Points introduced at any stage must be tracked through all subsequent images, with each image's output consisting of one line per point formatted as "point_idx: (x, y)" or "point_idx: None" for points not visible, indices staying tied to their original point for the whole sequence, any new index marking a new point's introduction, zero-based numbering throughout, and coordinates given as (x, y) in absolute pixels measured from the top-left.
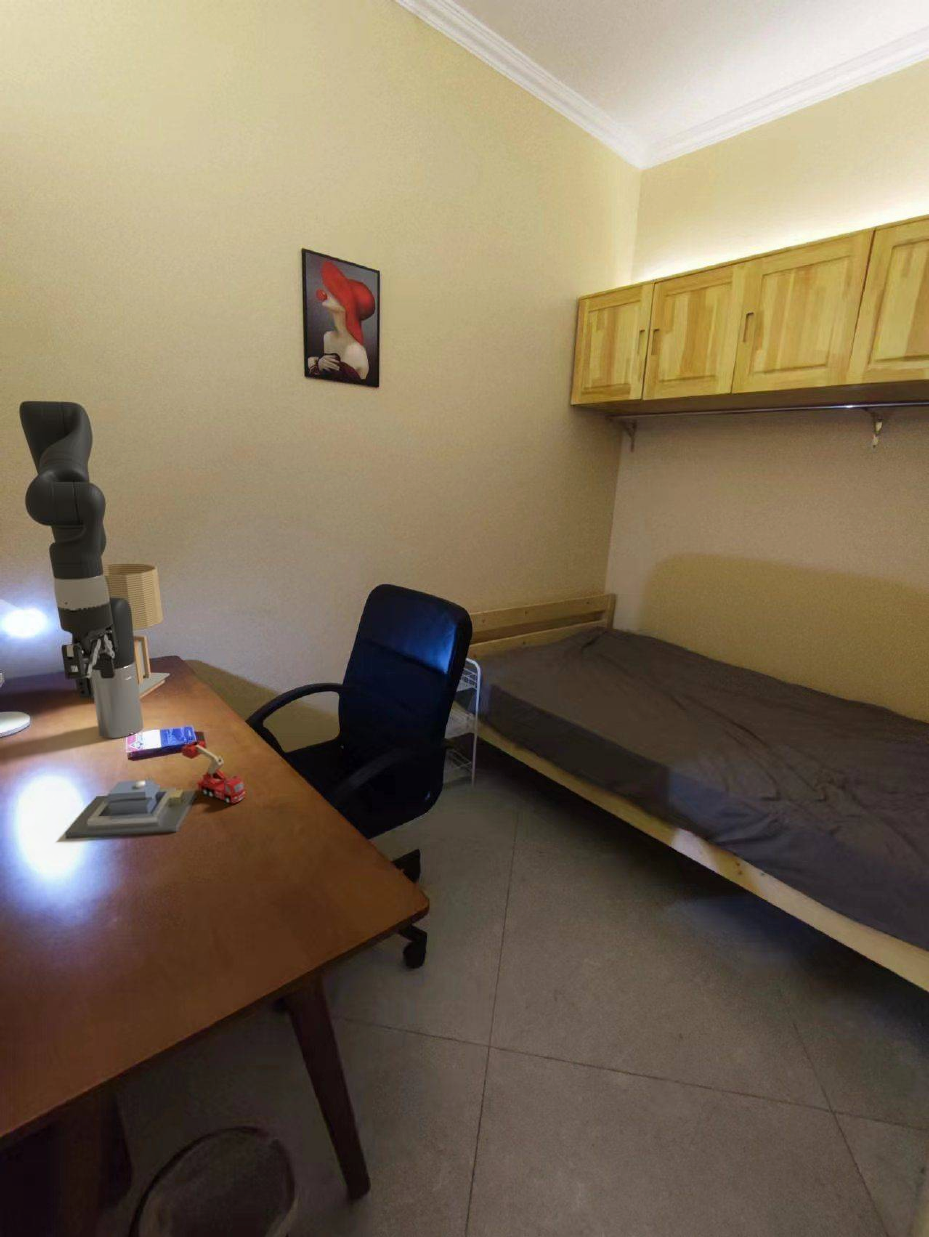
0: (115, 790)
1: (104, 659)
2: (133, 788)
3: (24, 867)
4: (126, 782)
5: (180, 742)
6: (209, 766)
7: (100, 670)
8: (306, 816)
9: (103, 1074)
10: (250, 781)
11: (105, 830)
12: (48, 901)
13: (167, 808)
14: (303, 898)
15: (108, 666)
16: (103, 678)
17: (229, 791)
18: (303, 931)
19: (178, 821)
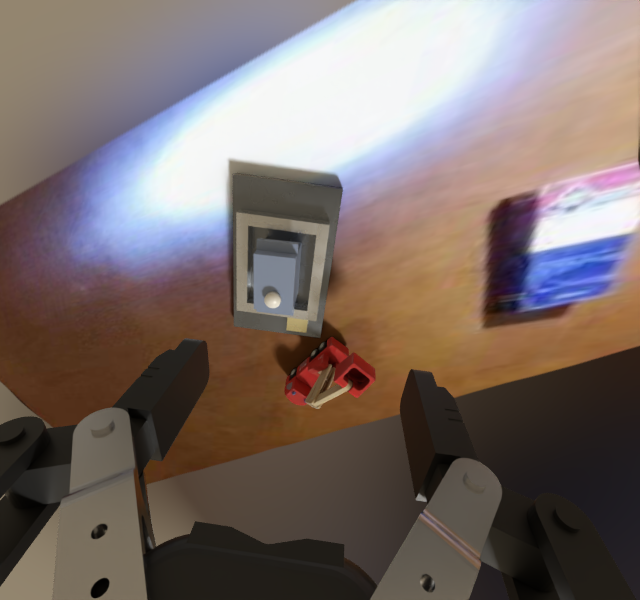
0: (264, 262)
1: (432, 478)
2: (266, 289)
3: (167, 134)
4: (290, 273)
5: (533, 284)
6: (321, 381)
7: (420, 398)
8: (250, 437)
9: None
10: None
11: (233, 237)
12: (101, 203)
13: None
14: None
15: (411, 448)
16: (409, 372)
17: (287, 386)
18: None
19: (244, 327)
